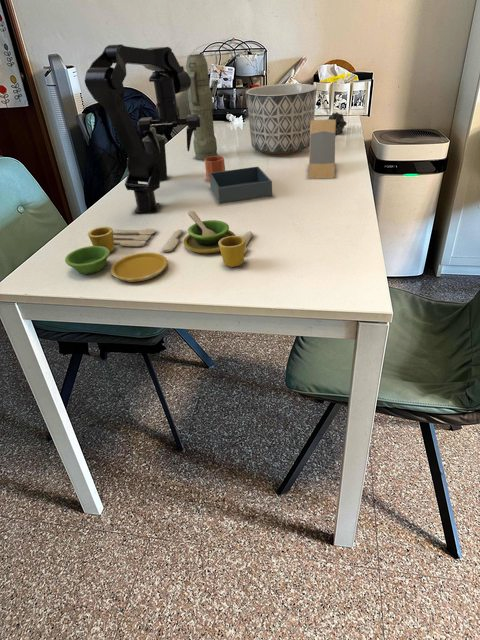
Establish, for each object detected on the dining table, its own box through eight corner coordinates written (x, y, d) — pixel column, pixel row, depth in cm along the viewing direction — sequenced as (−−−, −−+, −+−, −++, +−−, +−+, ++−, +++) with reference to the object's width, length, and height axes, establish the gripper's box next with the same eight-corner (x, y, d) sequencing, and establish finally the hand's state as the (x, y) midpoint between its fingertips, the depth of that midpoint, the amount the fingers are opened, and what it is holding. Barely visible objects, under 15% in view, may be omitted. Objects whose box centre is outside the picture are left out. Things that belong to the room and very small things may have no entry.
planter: (275, 164, 163) (274, 97, 150) (236, 151, 181) (232, 91, 169) (328, 149, 174) (331, 86, 161) (287, 138, 192) (286, 81, 180)
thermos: (191, 161, 173) (178, 57, 153) (199, 153, 182) (188, 54, 162) (214, 161, 171) (203, 55, 151) (220, 152, 181) (211, 52, 161)
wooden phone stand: (308, 178, 147) (309, 130, 139) (309, 165, 160) (310, 119, 151) (335, 178, 146) (337, 129, 137) (333, 164, 158) (336, 118, 150)
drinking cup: (167, 182, 154) (157, 120, 142) (146, 182, 155) (134, 120, 144) (174, 175, 160) (165, 115, 148) (154, 175, 161) (143, 115, 150)
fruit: (330, 106, 198) (330, 112, 185) (348, 112, 198) (349, 118, 186) (323, 126, 203) (323, 133, 190) (340, 132, 203) (341, 139, 191)
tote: (272, 197, 135) (271, 181, 132) (219, 205, 133) (218, 188, 130) (258, 181, 148) (258, 166, 145) (210, 188, 146) (209, 172, 143)
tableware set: (259, 234, 114) (258, 210, 110) (235, 290, 92) (233, 263, 89) (111, 229, 123) (106, 207, 119) (57, 280, 101) (48, 255, 97)
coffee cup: (225, 181, 150) (223, 160, 146) (206, 183, 150) (204, 162, 146) (225, 176, 155) (224, 155, 151) (207, 177, 156) (205, 156, 152)
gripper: (199, 90, 137) (205, 143, 146) (139, 95, 138) (148, 147, 147) (196, 96, 128) (203, 152, 137) (132, 101, 129) (142, 156, 138)
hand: (173, 152), depth 140 cm, fingers open, 9 cm apart
